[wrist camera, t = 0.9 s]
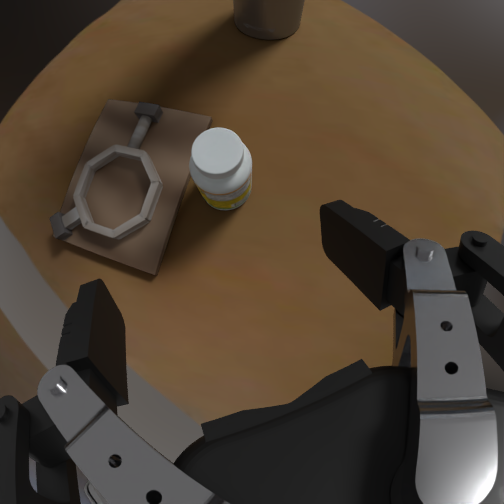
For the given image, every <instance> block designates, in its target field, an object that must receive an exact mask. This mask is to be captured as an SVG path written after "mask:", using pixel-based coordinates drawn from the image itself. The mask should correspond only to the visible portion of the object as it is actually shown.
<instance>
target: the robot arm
mask: <svg viewBox="0 0 504 504" xmlns="http://www.w3.org/2000/svg"><path fill="white" fill-rule="evenodd" d="M304 1H305V0H233V4H234V20H235V24H236V26H237V28H238V29H239V30H240V31H241V32H243V33H244V34H246V35H249V36H251V37H254V38H258V39H266V40H274V39H281V38H285V37H288V36H290V35H292V34H293V33H295V32H296V31H297V29H298V28H299V25H300V21H301V16H302V11H303V6H304ZM320 221H321V235H322V245H323V249H324V251H325V254H326V255H327V257H328V258H329V259H330V260H331V261H332V262H333V263H334V264H335V265H336V266H337V267H338V268H339V269H340V270H341V271H342V272H343V273H344V274H345V275H346V276H347V277H348V278H349V279H350V280H351V281H352V282H353V283H354V284H355V285H356V286H357V287H358V289H359V290H360V291H361V292H362V293H363V294H364V295H365V296H366V297H367V298H368V299H369V300H370V301H371V302H372V303H373V304H374V305H375V306H376V307H377V308H378V309H379V310H382V309H384V308H386V307H388V306H390V305H392V306H393V307H394V308H395V309H394V315H393V361H392V366H380V367H374V368H368V366H367V365H366V364H365V362H364V361H363V360H362V359H361V360H359V361H357V362H355V363H353V364H351V365H349V366H347V367H345V368H343V369H341V370H339V371H337V372H335V373H333V374H330V375H328V376H326V377H325V378H324V379H322V380H321V381H320V382H318V383H317V384H316V385H314V386H313V387H312V388H310V389H309V390H308V391H306V392H305V393H304V394H302V395H301V396H300V397H298V398H297V399H296V400H294V401H293V402H291V403H288V404H284V405H278V406H272V407H265V408H258V409H251V410H243V411H240V412H237V413H234V414H231V415H228V416H225V417H222V418H219V419H215V420H212V421H209V422H206V423H202V424H201V426H202V430H203V433H204V436H202V437H201V438H199V439H198V440H196V441H195V442H193V443H192V444H191V445H190V446H189V447H187V448H186V449H185V450H184V451H183V452H182V453H181V455H180V456H179V457H178V458H177V459H176V461H175V462H174V463H172V462H171V461H170V460H168V459H167V458H166V457H164V456H163V455H162V454H161V453H159V452H158V451H157V450H156V449H155V448H153V447H152V446H151V445H150V444H149V443H147V442H146V441H145V440H144V439H143V438H142V437H140V436H139V435H138V434H137V433H136V432H135V431H134V430H133V429H131V428H130V427H129V426H128V425H127V424H126V423H125V422H124V421H123V420H122V419H121V418H120V417H118V416H117V406H121V405H126V404H129V402H128V389H127V373H126V344H125V324H124V320H123V317H122V314H121V312H120V310H119V309H118V307H117V305H116V303H115V302H114V300H113V298H112V296H111V295H110V293H109V291H108V289H107V287H106V285H105V284H104V282H103V281H102V280H101V279H97V280H94V281H91V282H88V283H86V284H83V285H81V286H80V289H79V293H78V297H77V302H75V303H73V304H72V305H71V307H70V308H69V310H68V312H67V313H66V316H65V320H64V324H63V326H64V328H63V329H62V337H61V339H60V344H59V349H58V355H57V361H56V366H55V367H53V368H52V369H50V370H49V371H48V372H47V373H46V374H45V375H44V376H43V377H42V379H41V381H40V383H39V386H38V391H37V392H38V395H37V396H35V397H33V398H32V399H30V400H28V401H26V402H25V403H23V404H21V403H20V402H19V401H18V400H17V399H15V398H14V397H13V396H9V395H8V396H4V397H2V398H0V504H81V502H80V496H79V489H78V481H77V472H76V465H77V466H78V467H79V469H80V470H81V471H82V473H83V474H84V475H85V476H86V477H87V479H88V480H89V481H90V482H91V483H92V485H93V486H94V487H95V488H96V489H97V490H98V491H99V493H100V494H101V495H102V496H103V497H104V498H105V499H106V500H107V501H108V502H109V504H504V392H501V391H497V390H492V389H488V388H486V386H485V378H484V371H483V365H482V358H481V352H480V347H479V344H480V345H481V346H482V347H483V348H484V349H485V350H486V351H487V352H488V354H489V355H490V356H491V357H492V358H493V359H494V360H495V362H496V363H497V364H498V365H499V366H500V367H501V369H502V370H503V371H504V314H503V313H502V312H501V311H500V310H499V309H498V308H497V307H496V306H495V305H494V304H493V303H492V302H490V300H489V299H488V298H487V297H485V296H484V295H483V293H484V290H485V287H486V284H487V281H488V282H489V283H490V284H491V285H492V286H494V287H495V288H496V289H497V290H498V291H499V292H501V293H502V294H503V296H504V246H503V245H501V244H500V243H499V242H497V241H496V240H495V239H493V238H492V237H490V236H489V235H487V234H485V233H482V232H479V231H467V232H465V233H463V234H462V236H461V240H460V245H459V247H454V248H448V249H444V248H443V247H442V246H441V245H440V244H438V243H436V242H434V241H432V240H428V239H414V240H409V239H408V238H406V237H405V236H403V235H402V234H401V233H399V232H398V231H396V230H395V229H393V228H392V227H390V226H389V225H386V223H384V222H383V221H381V220H378V218H377V217H375V216H374V215H372V214H371V213H369V212H367V211H363V210H360V209H357V208H353V207H352V206H350V205H349V204H347V203H346V202H344V201H342V200H337V201H334V202H330V203H327V204H324V205H322V206H321V207H320ZM29 457H30V458H31V459H33V460H34V461H36V477H37V492H36V491H35V490H34V489H33V488H32V486H31V483H30V480H29Z"/></svg>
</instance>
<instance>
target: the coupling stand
mask: <svg viewBox="0 0 504 504" xmlns="http://www.w3.org/2000/svg"><path fill="white" fill-rule="evenodd" d="M211 123H212V117H209V116H204V115H200V114H195V113H190V112H185V111H180V110H175V109H170V108H164V107H160V106H159V105H156V104H150V103H144V102H139V103H133V102H126V101H119V100H111V99H108V101H107V103H106V105H105V107H104V108H103V110H102V112H101V114H100V116H99V118H98V120H97V122H96V124H95V126H94V129H93V131H92V133H91V135H90V137H89V139H88V142H87V144H86V146H85V148H84V151H83V153H82V155H81V158H80V160H79V162H78V165H77V167H76V170H75V172H74V175H73V177H72V180H71V183H70V185H69V188H68V191H67V193H66V196H65V199H64V202H63V205H62V208H61V211H60V212H57V213H56V214H54V215H53V216H51V217H50V222H51V225H52V228H53V232H54V233H53V237H55V238H56V239H61V240H63V241H66V242H68V243H71V244H73V245H76V246H78V247H81V248H83V249H86V250H88V251H91V252H93V253H96V254H99V255H101V256H104V257H107V258H109V259H112V260H115V261H117V262H120V263H123V264H125V265H128V266H131V267H134V268H136V269H139V270H142V271H145V272H147V273H150V274H153V275H158V272H159V269H160V265H161V262H162V259H163V256H164V252H165V249H166V246H167V243H168V240H169V237H170V234H171V231H172V228H173V225H174V222H175V219H176V216H177V213H178V210H179V207H180V204H181V202H182V199H183V196H184V193H185V190H186V188H187V185H188V182H189V179H190V177H191V174H190V169H189V162H190V157H191V150H192V145H193V143H194V141H195V139H196V138H197V137H198V136H199V135H200V134H201V133H203V132H204V131H206V130H209V128H210V126H211Z"/></svg>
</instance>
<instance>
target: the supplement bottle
mask: <svg viewBox="0 0 504 504" xmlns="http://www.w3.org/2000/svg"><path fill="white" fill-rule="evenodd" d="M189 169H190V174H191V176H192V179H193V181H194V182H195V184H196V186H197V188H198V189H199V191H200V193H201V195H202V196H203V198H204V199H205V200H206V202H207V203H208V204H209V205H210V206H212V207H214V208H216V209H219V210H231V209H235V208H237V207H239V206H240V205H242V204H243V203H244V202H245V201H246V200H247V198H248V197H249V195H250V192H251V185H252V159H251V155H250V152H249V150H248V149H247V147H246V146H245V145H244V144H243V143H242V141H241V139H240V138H239V137H238V135H237V134H235V133H234V132H233V131H231V130H229V129H226V128H212V129H209V130H206V131H204V132H203V133H201V134H200V135H199V136H198V137H197V138H196V139H195V141H194V143H193V145H192V150H191V157H190V162H189Z"/></svg>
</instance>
